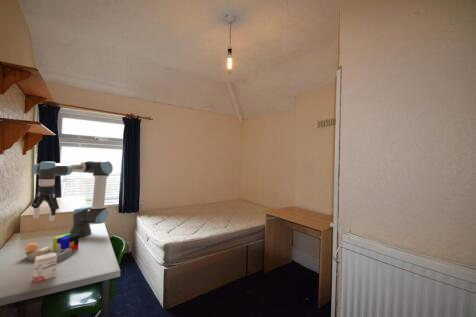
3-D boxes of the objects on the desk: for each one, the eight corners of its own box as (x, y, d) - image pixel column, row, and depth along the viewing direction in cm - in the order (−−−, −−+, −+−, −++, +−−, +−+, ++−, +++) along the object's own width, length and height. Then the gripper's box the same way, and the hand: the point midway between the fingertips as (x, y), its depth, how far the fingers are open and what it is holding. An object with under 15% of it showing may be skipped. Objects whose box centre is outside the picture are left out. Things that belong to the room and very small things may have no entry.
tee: (30, 255, 136) (31, 250, 136) (36, 255, 136) (37, 250, 136) (24, 257, 132) (25, 253, 132) (30, 258, 132) (31, 253, 132)
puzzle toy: (63, 254, 139) (64, 239, 139) (52, 252, 141) (53, 237, 141) (78, 248, 149) (79, 234, 149) (66, 247, 151) (67, 233, 151)
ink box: (33, 283, 106) (35, 259, 106) (32, 279, 109) (34, 256, 109) (55, 276, 112) (57, 254, 113) (54, 273, 116) (55, 252, 116)
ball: (31, 250, 137) (31, 241, 137) (40, 250, 137) (40, 241, 137) (21, 254, 131) (22, 244, 131) (31, 254, 131) (32, 244, 131)
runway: (42, 255, 139) (43, 246, 139) (71, 256, 139) (72, 247, 139) (27, 262, 129) (28, 252, 129) (59, 263, 129) (59, 253, 129)
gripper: (25, 184, 130) (22, 218, 129) (54, 187, 123) (51, 223, 123) (39, 184, 137) (36, 215, 136) (67, 186, 131) (65, 220, 130)
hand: (43, 219), depth 129 cm, fingers open, 13 cm apart
